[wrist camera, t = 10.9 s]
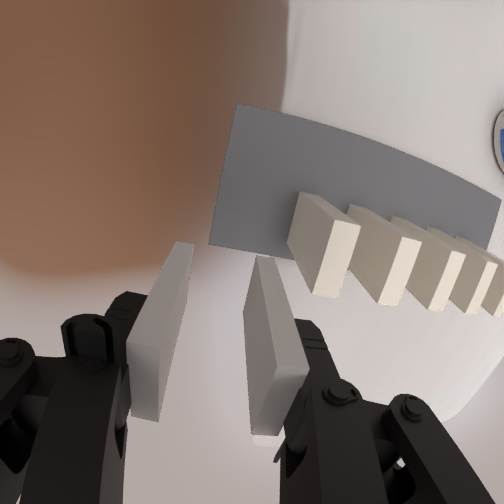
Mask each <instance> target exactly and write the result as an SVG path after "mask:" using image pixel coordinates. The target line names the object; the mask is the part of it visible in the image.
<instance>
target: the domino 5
mask: <svg viewBox="0 0 504 504" xmlns="http://www.w3.org/2000/svg"><path fill="white" fill-rule="evenodd" d="M455 239H456V240H458V241H460V242H462V243H463V244H465V245H467V246H469V247H470V248H472V249H474V250H475V251H477V252H479V253H480V254H482V255H484V256H485V257H487V258H488V259H490V260H492V261H493V262H495V263H496V264H498V266H497V268H496V271H495V273H494V276H493V278H492V281H491V283H490V285H489V288H488V290H487V292H486V295H485V297H484V299H483V301H482V303H481V306H482V307H483V308H484V309H485V310H486V311H487V312H489V313H490V314H491V315H492V316H495V317H502V315H503V313H504V261H503V260H501V259H500V258H498V257H496V256H495V255H493V254H491V253H490V252H488V251H486V250H484V249H483V248H481V247H479V246H478V245H476V244H474V243H472V242H470V241H469V240H467V239H465V238H462V237H459V236H456V238H455Z"/></svg>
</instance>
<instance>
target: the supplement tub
mask: <svg viewBox="0 0 504 504" xmlns="http://www.w3.org/2000/svg"><path fill="white" fill-rule="evenodd" d="M494 148H495V153H496V157H497V160H498V163H499V165H500V167H501V169H502V171H503V172H504V110H503V111H502V112H501V113H500V115H499V116H498V118H497V121H496V124H495V129H494Z"/></svg>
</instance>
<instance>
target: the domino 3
mask: <svg viewBox="0 0 504 504" xmlns="http://www.w3.org/2000/svg"><path fill="white" fill-rule="evenodd" d="M390 222H391V223H392V224H394V225H396V226H397V227H399V228H401V229H402V230H404V231H405V232H407V233H409V234H410V235H412V236H413V237H415V238H417V239H418V240H420V241H421V242H422V244H421V247H420V249H419V252H418V255H417V258H416V260H415V263H414V266H413V268H412V271H411V274H410V276H409V279H408V281H407V284H406V286H405V288H406V289H407V290H408V291H409V292H410V293H411V294H412V295H413V296H414V297H415V298H416V299H417V300H418V301H419V302H420V303H421V304H422V305H423V306H424V307H425V308H426V309H427V310H433V311H443V309H444V307H445V305H446V302H447V300H448V298H449V296H450V293H451V291H452V289H453V287H454V284H455V282H456V279H457V277H458V275H459V272H460V270H461V267H462V264H463V262H464V259H465V256H466V254H464V253H463V252H461V251H460V250H458V249H456V248H455V247H453V246H451V245H450V244H448V243H446V242H445V241H443V240H441V239H440V238H438V237H436V236H435V235H433V234H431V233H429V232H428V231H426V230H424V229H422V228H421V227H419V226H417V225H415V224H413V223H412V222H410V221H408V220H406V219H403V218H400V217H396V216H393V215H392V218H391V221H390Z"/></svg>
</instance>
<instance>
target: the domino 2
mask: <svg viewBox="0 0 504 504" xmlns="http://www.w3.org/2000/svg"><path fill="white" fill-rule="evenodd" d="M347 216H348V217H350V218H351V219H352V220H354V221H355V222H357V223H358V224H359V225H361V228H360V232H359V235H358V238H357V241H356V244H355V248H354V251H353V254H352V257H351V260H350V263H349V266H348V268H349V270H350V271H351V272H352V273H353V274H354V276H355V277H356V278H357V279H358V280H359V282H360V283H361V284H362V285H363V287H364V288H365V289H366V290H367V292H368V293H369V294H370V295H371V297H372V298H373V299H374V300H375V302H376V303H377V304H382V305H390V306H397V305H398V303H399V300H400V298H401V296H402V293H403V291H404V289H405V286H406V284H407V281H408V279H409V276H410V274H411V271H412V268H413V266H414V263H415V260H416V258H417V255H418V252H419V249H420V247H421V244H422V242H421V241H420V240H418V239H417V238H415V237H413V236H412V235H410V234H409V233H407V232H405V231H404V230H402V229H401V228H399V227H397V226H396V225H394V224H392V223H391V222H389V221H387V220H386V219H384V218H382V217H381V216H379V215H377V214H376V213H374V212H372V211H370V210H369V209H367V208H364V207H361V206H357V205H353V204H349V208H348V211H347Z"/></svg>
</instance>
